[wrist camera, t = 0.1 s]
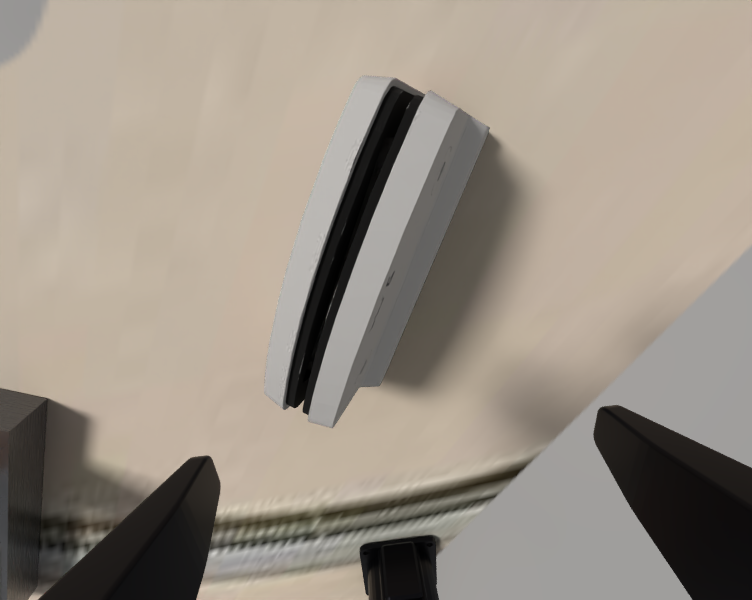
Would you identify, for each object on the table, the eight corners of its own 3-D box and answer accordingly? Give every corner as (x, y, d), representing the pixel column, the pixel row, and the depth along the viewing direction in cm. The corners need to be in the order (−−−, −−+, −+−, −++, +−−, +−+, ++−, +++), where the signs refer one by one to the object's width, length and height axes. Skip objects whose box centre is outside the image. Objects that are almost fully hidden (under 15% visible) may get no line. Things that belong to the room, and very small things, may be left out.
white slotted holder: (383, 378, 25) (330, 487, 16) (321, 349, 26) (236, 438, 17) (492, 124, 20) (508, 64, 10) (409, 94, 20) (354, 13, 11)
